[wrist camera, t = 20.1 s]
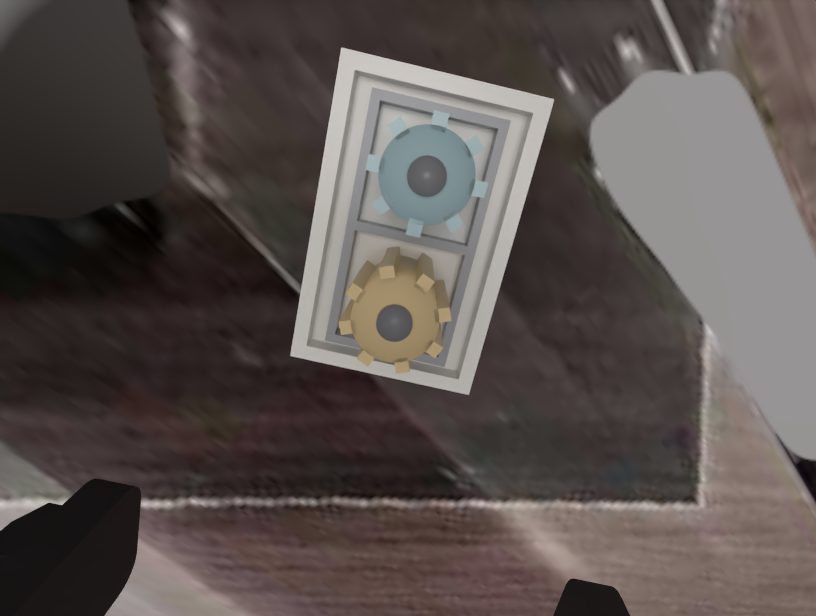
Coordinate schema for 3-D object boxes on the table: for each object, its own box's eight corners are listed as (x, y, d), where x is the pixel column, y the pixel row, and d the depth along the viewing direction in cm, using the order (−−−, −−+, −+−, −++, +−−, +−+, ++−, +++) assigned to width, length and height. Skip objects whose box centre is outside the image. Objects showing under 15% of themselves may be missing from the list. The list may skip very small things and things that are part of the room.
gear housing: (347, 57, 30) (341, 47, 27) (543, 105, 30) (554, 99, 28) (299, 343, 35) (290, 355, 33) (465, 380, 36) (468, 394, 33)
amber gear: (439, 240, 32) (444, 260, 25) (450, 327, 34) (457, 370, 26) (348, 253, 32) (327, 276, 25) (363, 338, 34) (347, 383, 27)
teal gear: (485, 137, 30) (505, 125, 23) (459, 233, 32) (471, 251, 24) (389, 113, 30) (378, 94, 22) (369, 212, 31) (353, 223, 24)
